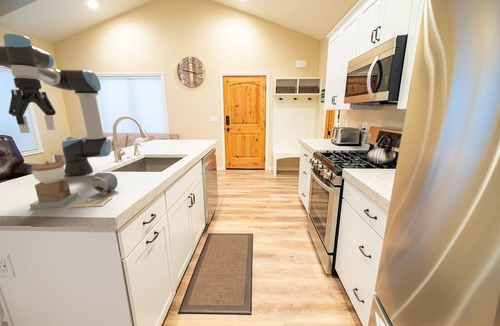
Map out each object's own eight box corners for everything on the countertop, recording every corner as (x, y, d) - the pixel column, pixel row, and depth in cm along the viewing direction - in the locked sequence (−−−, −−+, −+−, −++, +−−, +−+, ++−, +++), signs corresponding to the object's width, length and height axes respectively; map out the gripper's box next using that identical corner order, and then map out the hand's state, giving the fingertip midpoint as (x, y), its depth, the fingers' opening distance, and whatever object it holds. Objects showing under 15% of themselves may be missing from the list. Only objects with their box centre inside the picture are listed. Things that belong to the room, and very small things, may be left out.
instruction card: (83, 199, 103) (82, 198, 102) (112, 198, 104) (112, 197, 104) (70, 208, 94) (70, 206, 94) (102, 206, 96) (102, 205, 95)
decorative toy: (97, 182, 118) (73, 189, 98) (107, 167, 118) (85, 170, 98) (116, 193, 120) (97, 202, 100) (126, 178, 120) (109, 183, 100)
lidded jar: (53, 177, 103) (49, 158, 101) (73, 178, 102) (69, 159, 99) (28, 185, 93) (22, 164, 91) (49, 186, 91) (44, 165, 89)
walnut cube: (52, 195, 103) (48, 179, 101) (70, 194, 104) (67, 178, 102) (39, 202, 95) (34, 185, 93) (59, 201, 96) (55, 184, 94)
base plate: (51, 197, 105) (50, 194, 104) (78, 196, 106) (77, 192, 106) (30, 208, 93) (29, 204, 93) (61, 207, 95) (60, 202, 94)
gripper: (41, 81, 98) (51, 128, 103) (-17, 73, 74) (0, 134, 79) (59, 82, 99) (68, 128, 104) (7, 73, 75) (23, 134, 80)
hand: (39, 131), depth 92 cm, fingers open, 13 cm apart
